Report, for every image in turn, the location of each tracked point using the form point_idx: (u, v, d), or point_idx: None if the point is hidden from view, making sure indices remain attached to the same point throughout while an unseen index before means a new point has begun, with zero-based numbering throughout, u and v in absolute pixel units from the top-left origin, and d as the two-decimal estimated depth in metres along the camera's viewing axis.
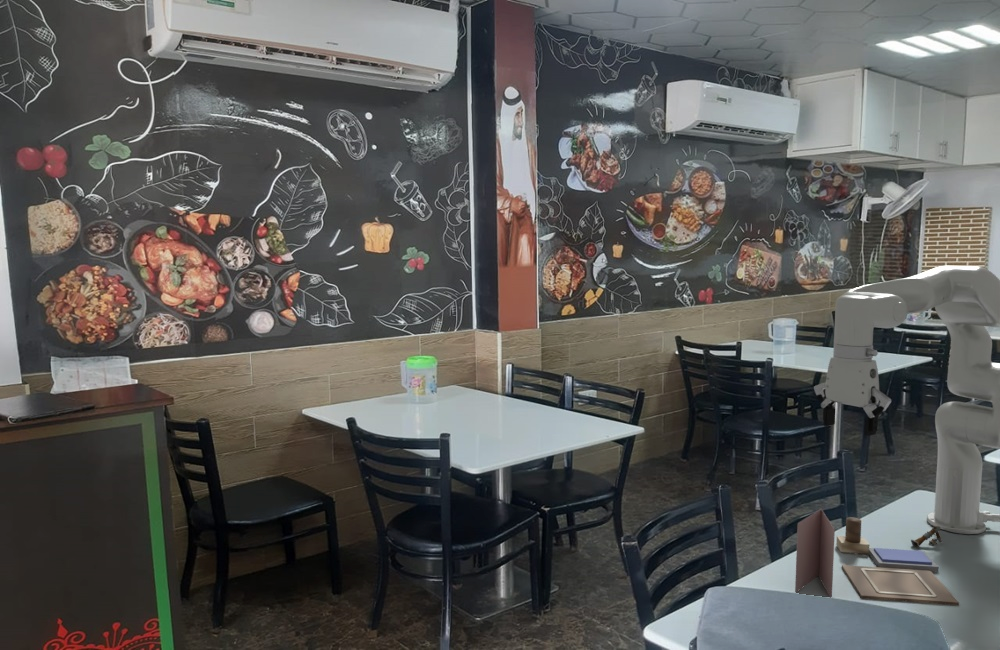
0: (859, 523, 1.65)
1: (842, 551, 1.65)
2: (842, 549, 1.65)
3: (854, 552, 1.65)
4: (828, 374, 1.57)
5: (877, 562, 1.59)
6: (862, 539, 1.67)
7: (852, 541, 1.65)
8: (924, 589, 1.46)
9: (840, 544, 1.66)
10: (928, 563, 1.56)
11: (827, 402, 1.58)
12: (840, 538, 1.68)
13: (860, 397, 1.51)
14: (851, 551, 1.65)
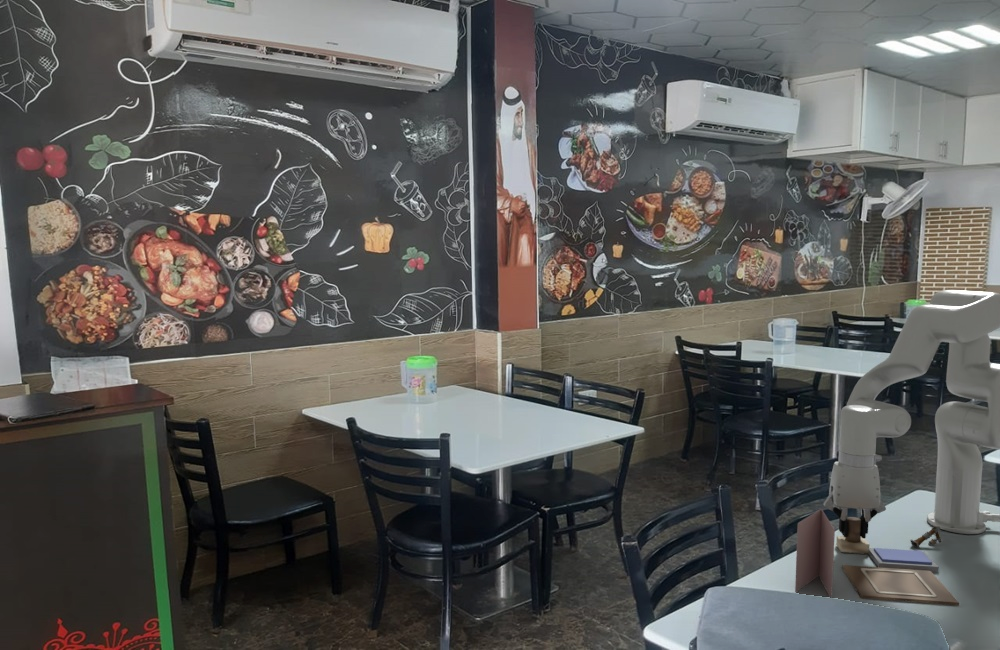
0: (859, 523, 1.65)
1: (842, 551, 1.65)
2: (842, 549, 1.65)
3: (854, 552, 1.65)
4: (839, 483, 1.64)
5: (877, 562, 1.59)
6: (862, 539, 1.67)
7: (852, 541, 1.65)
8: (924, 589, 1.46)
9: (840, 544, 1.66)
10: (928, 563, 1.56)
11: (845, 512, 1.65)
12: (840, 538, 1.68)
13: (874, 500, 1.63)
14: (851, 551, 1.65)
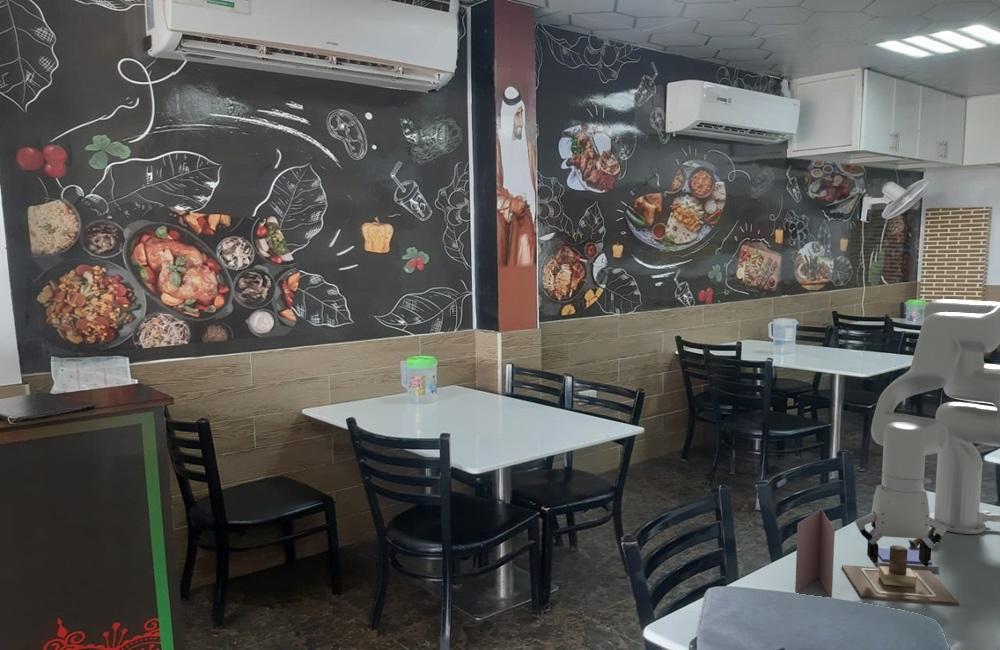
0: (905, 553, 1.47)
1: (885, 583, 1.48)
2: (885, 581, 1.48)
3: (899, 585, 1.48)
4: (883, 509, 1.46)
5: (877, 562, 1.59)
6: (908, 570, 1.49)
7: (897, 572, 1.48)
8: (924, 589, 1.46)
9: (883, 575, 1.49)
10: (928, 563, 1.56)
11: (878, 538, 1.48)
12: (883, 568, 1.50)
13: (923, 529, 1.45)
14: (896, 584, 1.48)
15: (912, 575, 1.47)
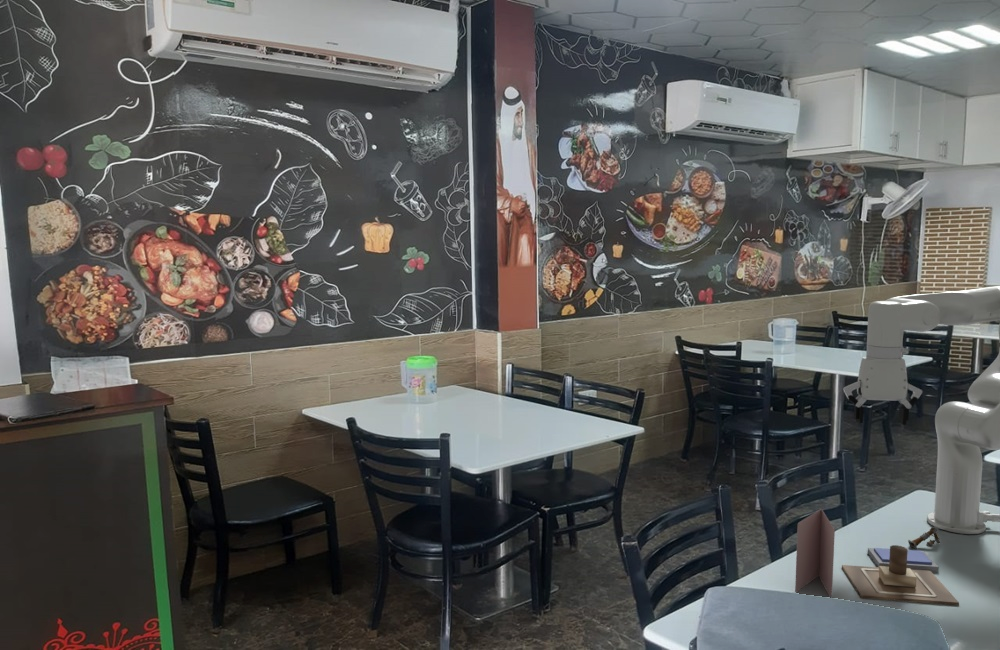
0: (905, 553, 1.47)
1: (885, 583, 1.48)
2: (885, 581, 1.48)
3: (899, 585, 1.48)
4: (867, 375, 1.69)
5: (877, 562, 1.59)
6: (908, 570, 1.49)
7: (897, 572, 1.48)
8: (924, 589, 1.46)
9: (883, 575, 1.49)
10: (928, 563, 1.56)
11: (863, 401, 1.71)
12: (883, 568, 1.50)
13: (901, 392, 1.68)
14: (896, 584, 1.48)
15: (912, 575, 1.47)
